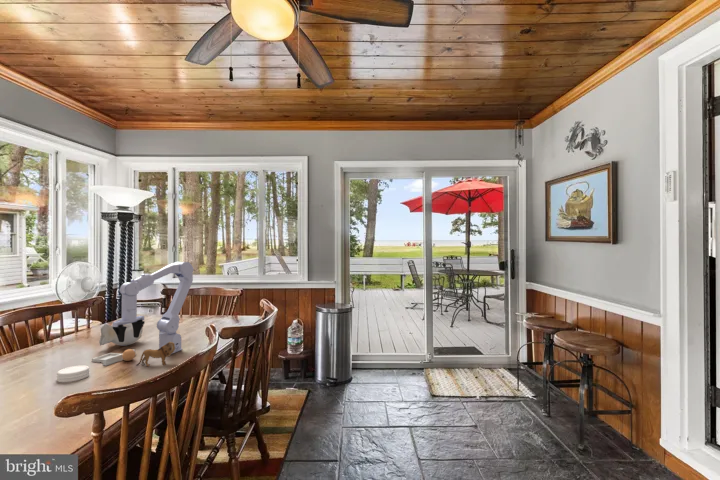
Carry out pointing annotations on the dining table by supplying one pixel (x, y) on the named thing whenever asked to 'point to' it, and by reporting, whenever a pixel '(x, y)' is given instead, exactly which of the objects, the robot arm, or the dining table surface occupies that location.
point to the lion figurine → (158, 353)
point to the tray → (103, 357)
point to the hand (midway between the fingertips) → (128, 339)
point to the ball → (128, 354)
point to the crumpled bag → (111, 336)
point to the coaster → (73, 373)
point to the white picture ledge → (113, 359)
